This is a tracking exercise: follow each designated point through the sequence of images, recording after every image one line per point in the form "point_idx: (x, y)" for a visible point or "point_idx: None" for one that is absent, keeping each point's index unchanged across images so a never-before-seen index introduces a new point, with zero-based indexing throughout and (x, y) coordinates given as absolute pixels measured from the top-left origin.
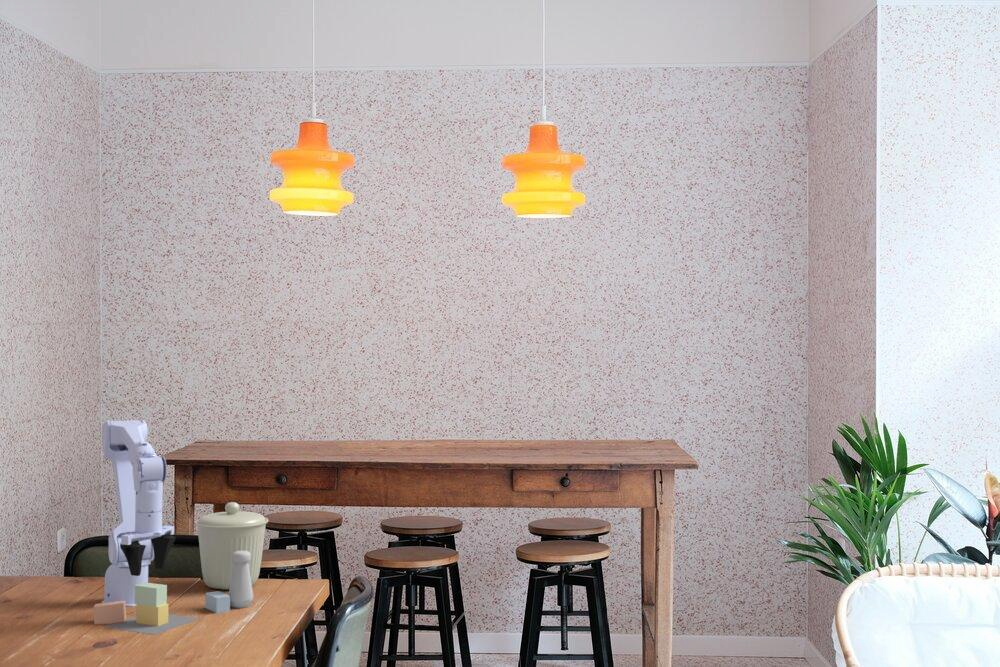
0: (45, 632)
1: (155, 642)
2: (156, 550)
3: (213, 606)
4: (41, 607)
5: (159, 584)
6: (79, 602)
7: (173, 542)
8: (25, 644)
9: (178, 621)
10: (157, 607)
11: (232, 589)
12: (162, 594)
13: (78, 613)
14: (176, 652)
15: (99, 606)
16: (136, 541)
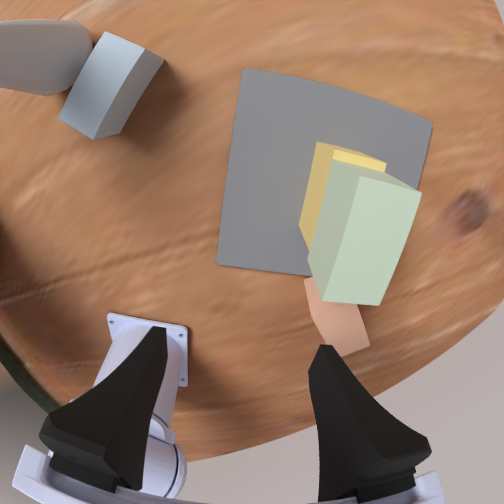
0: (396, 352)
1: (458, 104)
2: (145, 424)
3: (143, 77)
4: (246, 427)
5: (352, 220)
6: (195, 408)
7: (65, 408)
8: (455, 330)
9: (298, 114)
10: (385, 166)
11: (61, 53)
12: (372, 173)
13: (264, 382)
14: (490, 42)
15: (367, 336)
16: (382, 495)
